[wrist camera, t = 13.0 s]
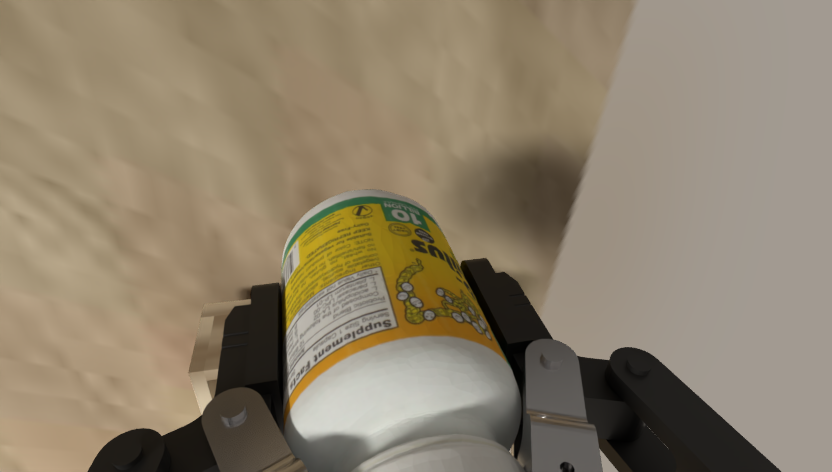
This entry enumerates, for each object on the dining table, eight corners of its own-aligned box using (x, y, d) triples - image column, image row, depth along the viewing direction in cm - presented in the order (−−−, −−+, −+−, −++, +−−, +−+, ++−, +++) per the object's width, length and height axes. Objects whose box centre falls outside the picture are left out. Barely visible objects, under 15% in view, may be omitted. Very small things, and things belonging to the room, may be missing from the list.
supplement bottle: (246, 238, 15) (209, 595, 7) (397, 151, 14) (531, 434, 7) (339, 337, 18) (382, 659, 10) (466, 268, 18) (610, 551, 10)
